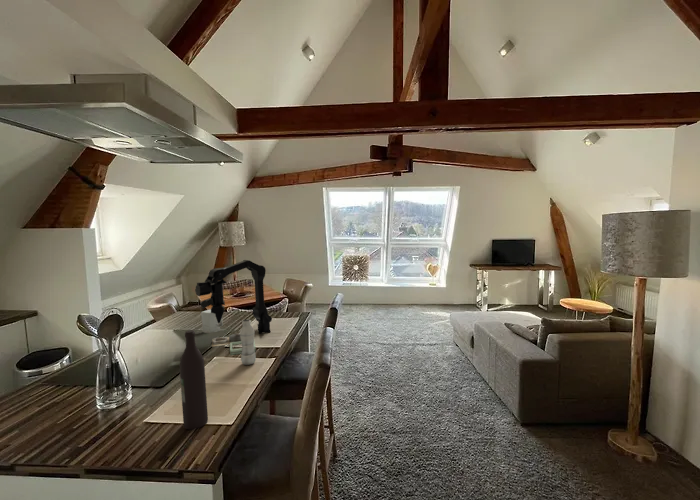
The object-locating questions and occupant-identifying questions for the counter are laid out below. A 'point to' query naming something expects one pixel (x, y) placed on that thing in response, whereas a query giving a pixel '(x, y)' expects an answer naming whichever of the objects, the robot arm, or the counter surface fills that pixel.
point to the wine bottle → (193, 385)
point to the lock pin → (218, 323)
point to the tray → (237, 349)
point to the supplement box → (208, 322)
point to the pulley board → (226, 340)
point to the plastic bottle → (247, 343)
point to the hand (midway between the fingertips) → (219, 321)
